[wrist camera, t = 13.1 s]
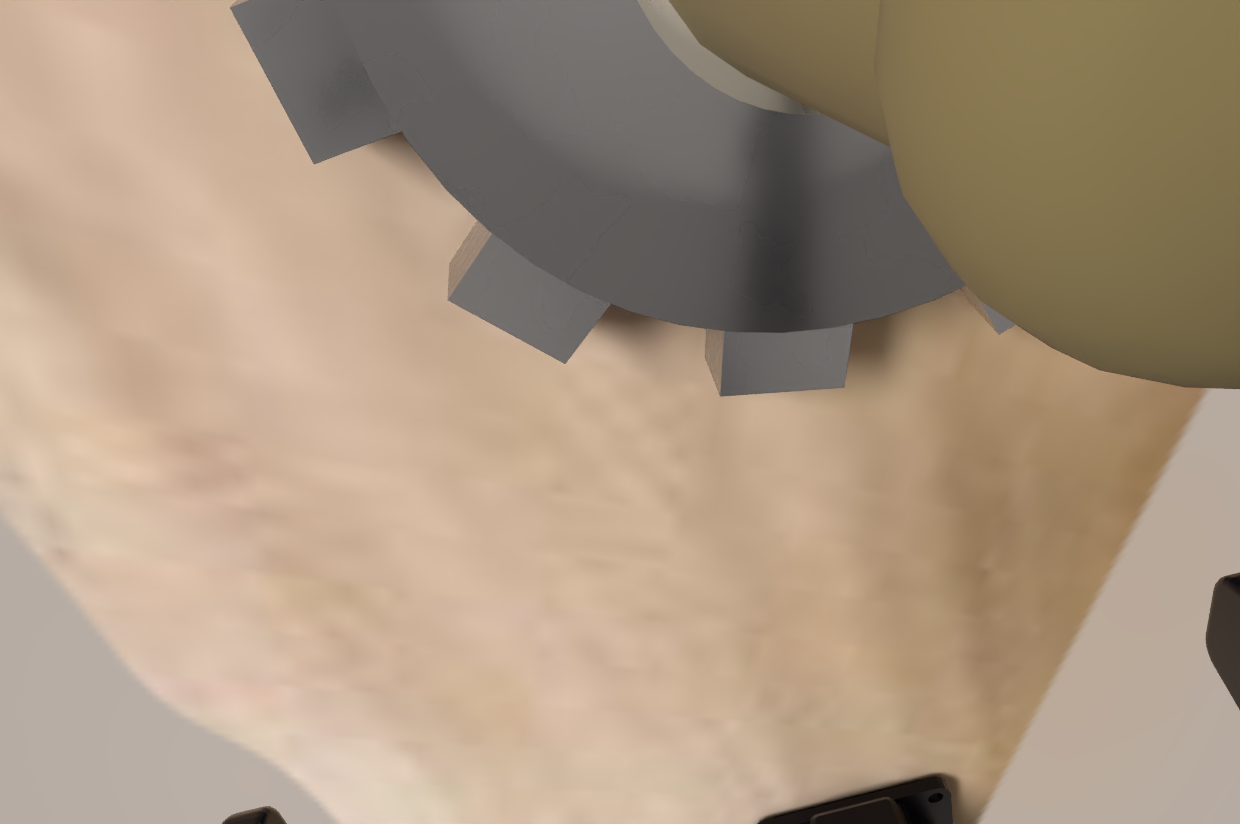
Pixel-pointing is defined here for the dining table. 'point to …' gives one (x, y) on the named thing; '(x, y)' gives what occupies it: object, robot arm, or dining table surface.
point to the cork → (1042, 153)
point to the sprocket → (617, 175)
